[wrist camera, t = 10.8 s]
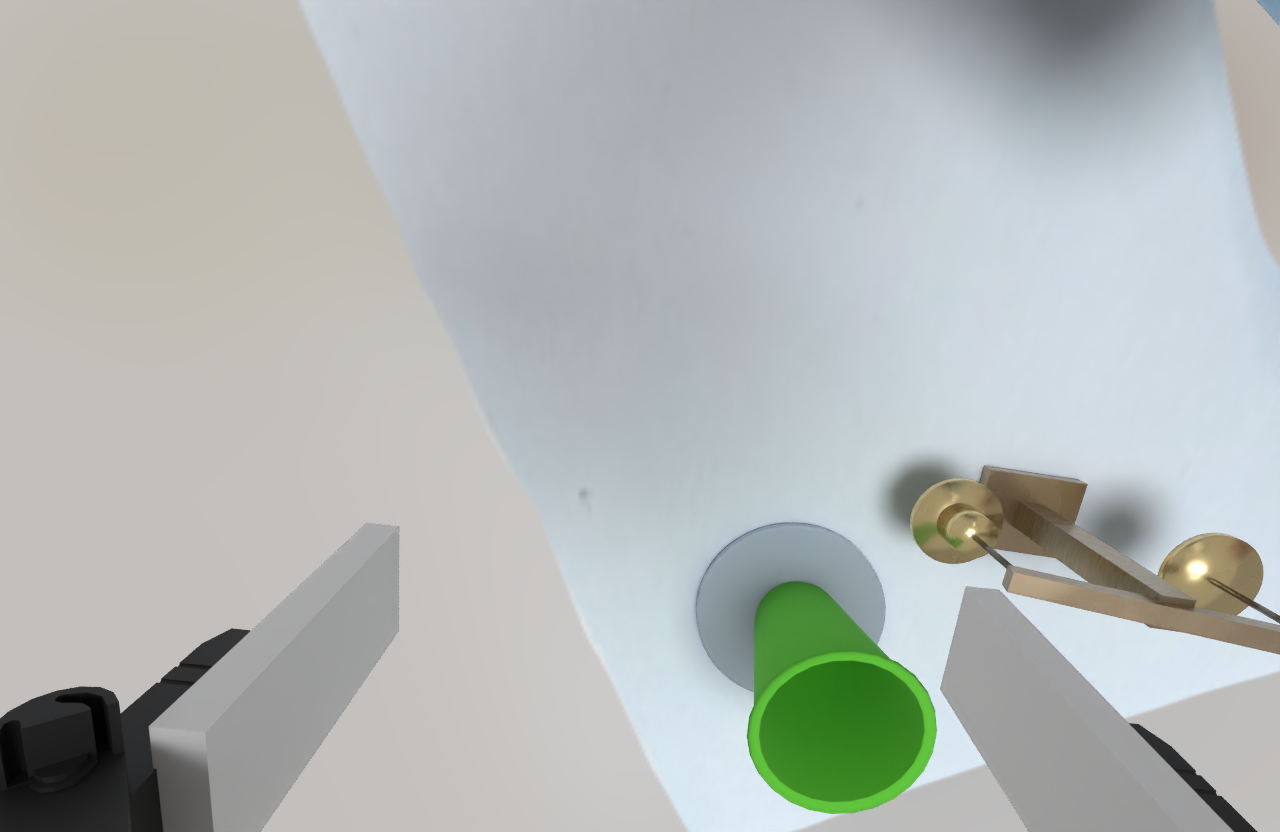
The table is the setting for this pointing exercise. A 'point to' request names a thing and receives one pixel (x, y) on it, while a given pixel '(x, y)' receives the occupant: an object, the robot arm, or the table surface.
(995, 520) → the balance
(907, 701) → the cup
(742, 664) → the dish
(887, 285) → the table surface
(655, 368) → the table surface
